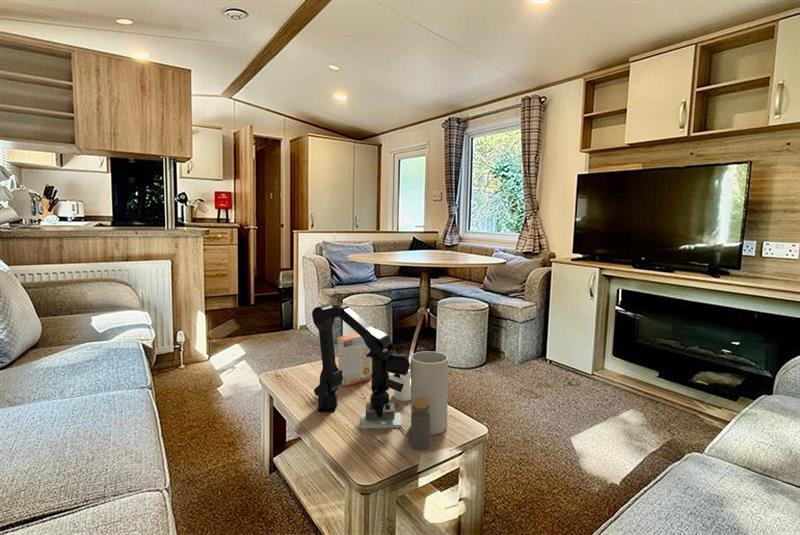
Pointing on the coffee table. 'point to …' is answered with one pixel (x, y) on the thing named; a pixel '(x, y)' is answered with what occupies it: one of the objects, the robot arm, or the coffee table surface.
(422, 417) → the bottle
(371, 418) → the link
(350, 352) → the cracker box
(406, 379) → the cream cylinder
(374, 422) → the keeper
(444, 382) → the cylinder vase
